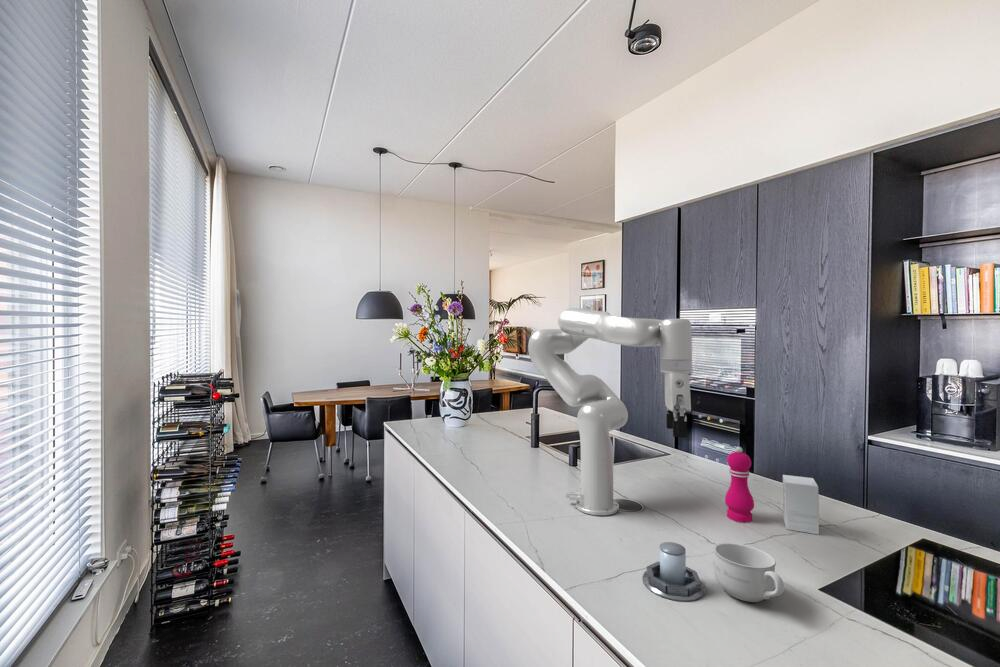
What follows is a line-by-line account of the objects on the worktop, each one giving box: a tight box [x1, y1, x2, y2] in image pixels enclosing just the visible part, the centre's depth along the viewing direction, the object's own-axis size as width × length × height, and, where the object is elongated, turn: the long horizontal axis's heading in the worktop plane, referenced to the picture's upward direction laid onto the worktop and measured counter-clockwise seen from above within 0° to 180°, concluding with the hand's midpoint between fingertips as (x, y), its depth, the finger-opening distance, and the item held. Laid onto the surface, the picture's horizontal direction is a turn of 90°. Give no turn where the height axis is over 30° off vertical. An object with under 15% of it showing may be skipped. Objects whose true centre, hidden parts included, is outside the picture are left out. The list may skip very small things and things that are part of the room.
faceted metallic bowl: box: [642, 560, 706, 602], centre depth 91 cm, size 12×12×2 cm
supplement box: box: [782, 474, 820, 535], centre depth 118 cm, size 7×7×13 cm
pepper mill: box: [724, 446, 755, 524], centre depth 124 cm, size 7×7×20 cm
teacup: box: [713, 542, 785, 603], centre depth 87 cm, size 14×11×8 cm
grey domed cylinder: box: [659, 541, 687, 586], centre depth 92 cm, size 5×5×7 cm
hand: (676, 432), depth 114 cm, fingers open, 9 cm apart
